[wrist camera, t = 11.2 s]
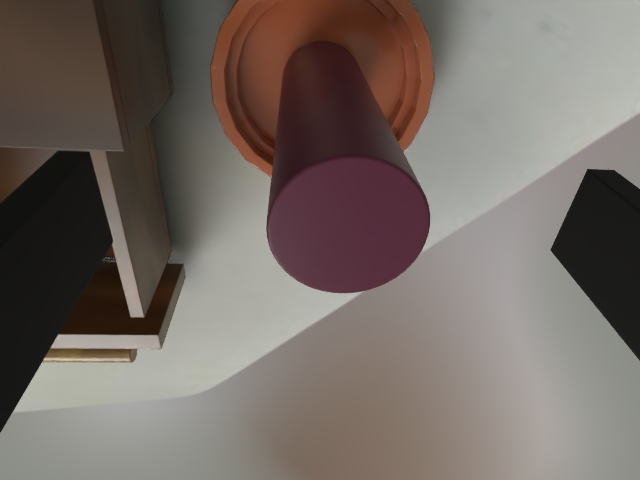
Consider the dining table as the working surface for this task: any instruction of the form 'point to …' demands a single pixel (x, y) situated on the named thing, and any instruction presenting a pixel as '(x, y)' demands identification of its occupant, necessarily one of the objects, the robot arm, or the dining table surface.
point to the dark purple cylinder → (340, 179)
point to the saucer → (305, 27)
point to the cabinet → (81, 72)
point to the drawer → (116, 256)
